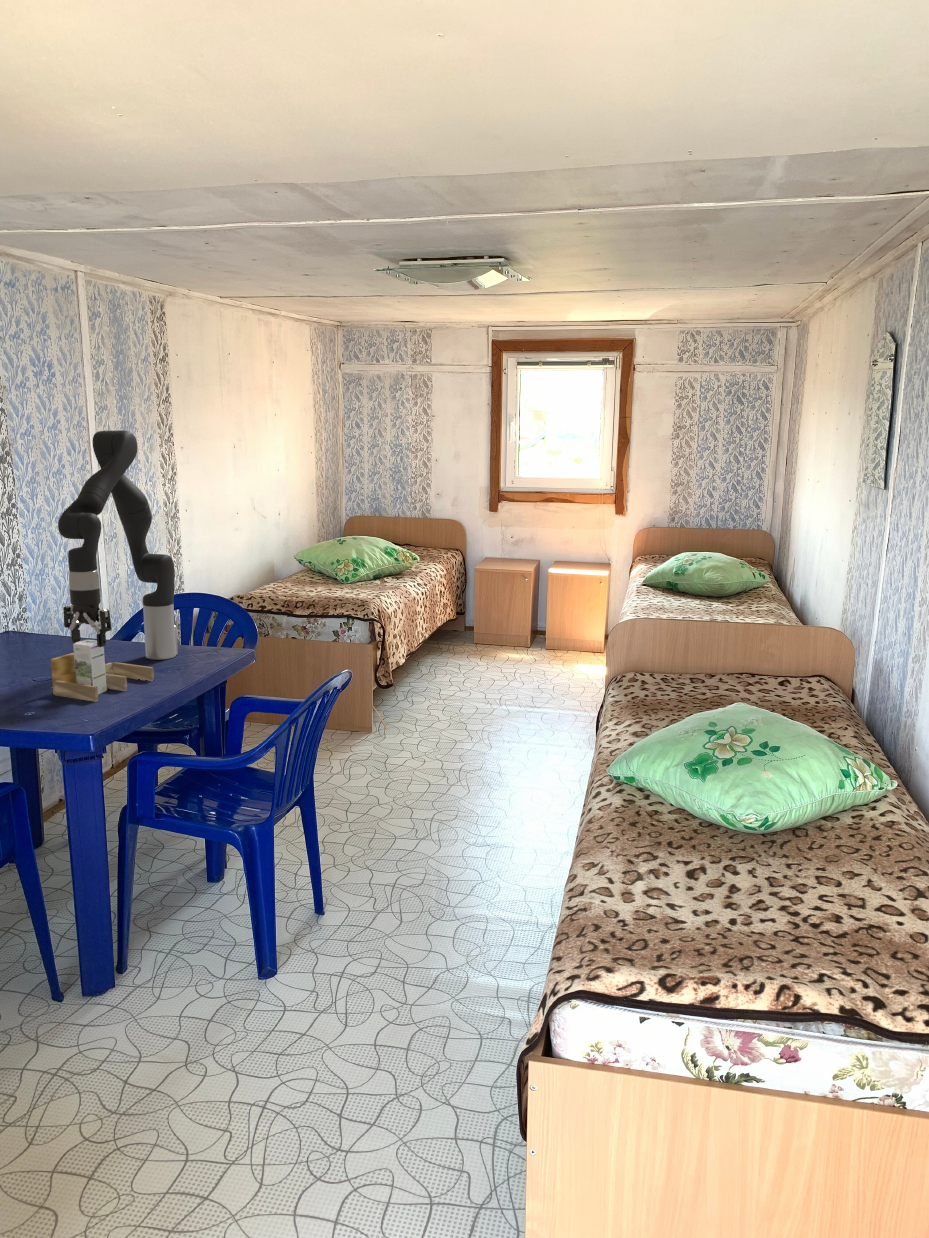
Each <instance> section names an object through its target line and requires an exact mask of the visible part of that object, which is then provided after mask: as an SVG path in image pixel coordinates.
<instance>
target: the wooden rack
mask: <svg viewBox="0 0 929 1238" xmlns="http://www.w3.org/2000/svg"><path fill="white" fill-rule="evenodd" d="M50 667H51V669H50V670H51V680H52V681H51V682H52V694H53V695H54V696H56V697H57V696H58V697H63V698H71V699H76V700H82V701H89V702H95V703H96V702H99V694H98V687H97V686H91V685H85V684H78V683H76V673H75V661H74V652H71V653H68V654H67V653H66V654H64V655H59V656H56V657H53V658H50ZM105 673H106V685H107V690H115V691H121V692H126V691H128V679H132V680H138V679H140V681H145V680H148V681H147V682H154V681H155V677H154V676H155V669H154V667H153V666H148V665H147V666H145V665H139V664H132V663H126V662H125V663H124V662H116V661H115V662H108V663H105ZM153 680H154V681H153Z"/></svg>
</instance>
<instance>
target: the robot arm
mask: <svg viewBox="0 0 929 1238" xmlns="http://www.w3.org/2000/svg"><path fill="white" fill-rule="evenodd" d="M92 449H93V454H94V456H95V458H96V461H97V463H98V465H99V468H100V469H99V470H98V471H96V472H95V473H93V474H92V475H91V476H90V477H88V479H87V480H86V481H85V482H84V484H83V486H82V488H81V490H80V491H79V494H78V496H77V498H76V499H75V500H74V501H73V502H72V503H71V504H70V505H69V506H67V507H66V508H65V510H64V511H63V512H62V513H61V514H60V517H59V518H58V523H57V530H58V532H59V534H60V536H62V537H63V538H65V539H70V540H83V542H82V545H81V546H79V547H75V548H71V549H69V550H68V553H67V560H68V561H67V562H68V586H69V599H70V605H66V606H63V609H62V610H63V627H64V628H65V629H69V631H70V633H71V634H70V635H71V636H70V637H71V642H72V644H74V643H77V642H79V641H82V639H81V629H80V628H81V625H83V624H85V625H89V626H90V627H91V628H92V629H94V630H95V632H96V641H97V646H98V647H103V646H104V647H105V646H106V645H107V644H106V643H107V637H106V634H107V632H111V631H112V621H111V614H110V609H108V608H106V609H100V603H101V587H100V585H101V584H100V576H99V572H98V559H97V555H98V553H97V552H98V547H99V541H100V537H101V533H102V522H101V519H100V518H99V515H100V514H101V513H102V511H103V510H104V508H105V506H106V504H107V501H108V499H109V497H110V495H112V499H113V503H114V505H115V508H116V511H117V515H118V518H119V520H120V522H121V525H122V528H123V531H124V534H125V537H126V541H127V544H128V546H129V550H130V556H131V561H132V564H133V569H134V572H135V574H136V575H135V576H136V577H137V578H138V580H139V581H141V582H142V583H145V584H146V583H148V584H156V589H155V590H154V591H152V592H150V593H147V594H144V595H143V597H142V608H143V609H142V610H143V612H142V613H143V628H144V629H143V630H144V644H145V645H144V646H145V647H144V648H145V658H146V659H149V660H169V659H172V658H174V657H175V658H176V655H178V654H179V651H178V650H179V649H178V632H177V625H175V610H174V608H175V607H174V604H175V603H174V597H175V577H176V576H175V574H176V573H175V563H174V560H173V558H172V556H171V555H168V554H165V553H164V554H161V553H150V552H149V549H148V547H147V544H146V542H147V541H146V539H147V536H148V533H149V531H150V528H151V525H152V522H153V514H152V510H151V508H150V504H149V502H148V499H147V496H146V495H145V493H144V492H143V491H142V490H141V489H140V488H139V487H138V486H137V485H136V484H135V483H134V482H133V481H132V480H130V478H128V477H127V476H126V474H125V473H126V471H127V470H128V468H130V466H131V465H132V464H133V462H135V461H134V460H135V459H136V457H137V453H138V441H137V437H136V436H135V435H134V433H133V432H131V431H129V430H124V429H123V430H100V431H96V432H95V433H94V434H93V436H92Z"/></svg>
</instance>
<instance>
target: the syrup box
mask: <svg viewBox="0 0 929 1238" xmlns="http://www.w3.org/2000/svg"><path fill="white" fill-rule="evenodd" d="M72 644H73V643H72ZM72 646H73V647H72V648H73V653H74V661H75V673H76V683H78V684H85V685H91V686H97V687H98V695H100V694H102V693H105V692H107V690H108V689H107V685H106V673H105V664H106V661H105V646H103V647H98V646H97V640H95V639H83V640H82V639H81V641H79V642H77V643H74V644H73V645H72Z"/></svg>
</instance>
